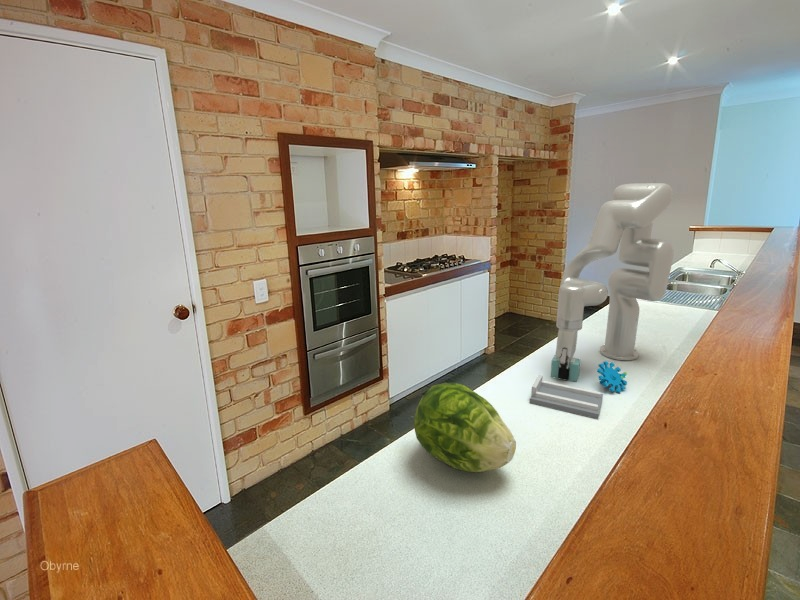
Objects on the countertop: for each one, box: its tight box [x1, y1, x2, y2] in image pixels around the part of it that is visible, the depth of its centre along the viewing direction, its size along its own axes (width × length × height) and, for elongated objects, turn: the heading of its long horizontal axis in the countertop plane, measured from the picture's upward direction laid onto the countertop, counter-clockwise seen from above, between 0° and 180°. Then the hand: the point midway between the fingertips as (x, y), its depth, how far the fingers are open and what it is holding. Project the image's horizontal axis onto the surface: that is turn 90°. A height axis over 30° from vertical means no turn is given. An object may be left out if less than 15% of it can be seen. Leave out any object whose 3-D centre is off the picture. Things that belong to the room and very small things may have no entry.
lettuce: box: [413, 382, 517, 473], centre depth 90 cm, size 18×23×19 cm
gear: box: [596, 360, 628, 394], centre depth 123 cm, size 11×6×10 cm
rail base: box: [529, 374, 604, 420], centre depth 116 cm, size 12×18×4 cm, turn 59°
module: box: [550, 354, 582, 383], centre depth 130 cm, size 5×8×6 cm, turn 59°
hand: (565, 374), depth 131 cm, fingers open, 5 cm apart
